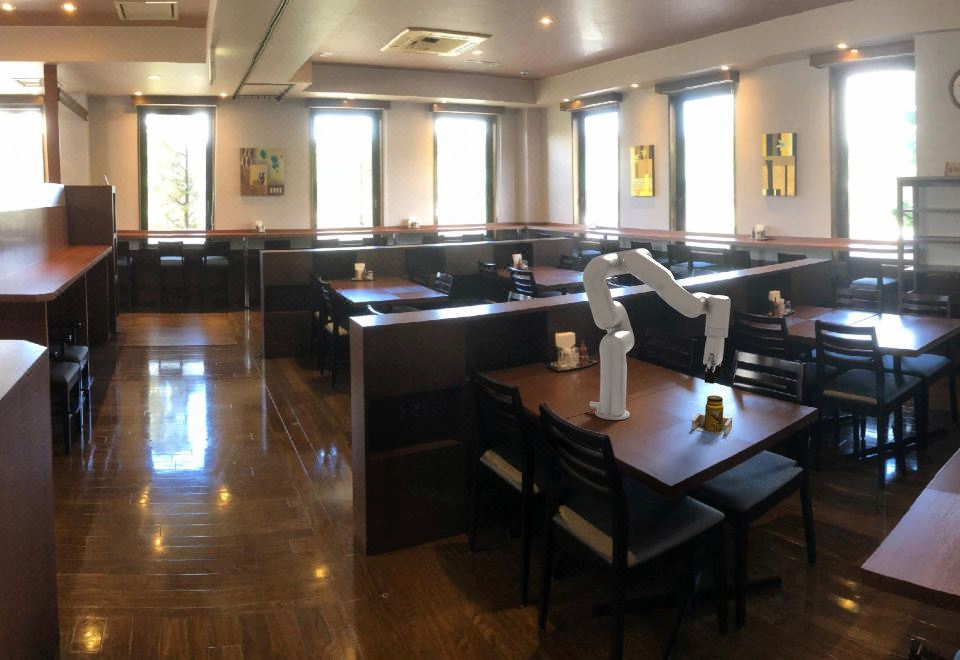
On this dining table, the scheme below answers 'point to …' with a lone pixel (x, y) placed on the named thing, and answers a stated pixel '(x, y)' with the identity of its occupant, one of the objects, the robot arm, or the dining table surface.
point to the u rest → (701, 420)
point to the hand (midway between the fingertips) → (712, 379)
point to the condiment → (713, 415)
